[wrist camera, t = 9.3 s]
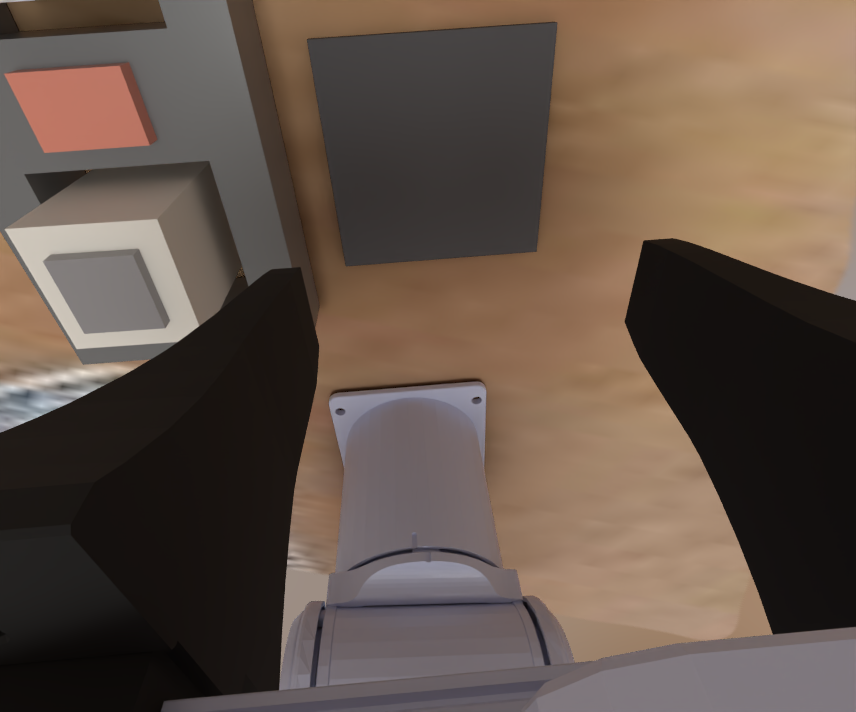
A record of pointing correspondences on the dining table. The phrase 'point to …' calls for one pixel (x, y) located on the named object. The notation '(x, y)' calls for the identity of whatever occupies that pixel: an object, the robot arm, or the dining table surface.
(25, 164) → the strip
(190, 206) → the plug
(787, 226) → the dining table surface
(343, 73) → the mat
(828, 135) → the dining table surface
